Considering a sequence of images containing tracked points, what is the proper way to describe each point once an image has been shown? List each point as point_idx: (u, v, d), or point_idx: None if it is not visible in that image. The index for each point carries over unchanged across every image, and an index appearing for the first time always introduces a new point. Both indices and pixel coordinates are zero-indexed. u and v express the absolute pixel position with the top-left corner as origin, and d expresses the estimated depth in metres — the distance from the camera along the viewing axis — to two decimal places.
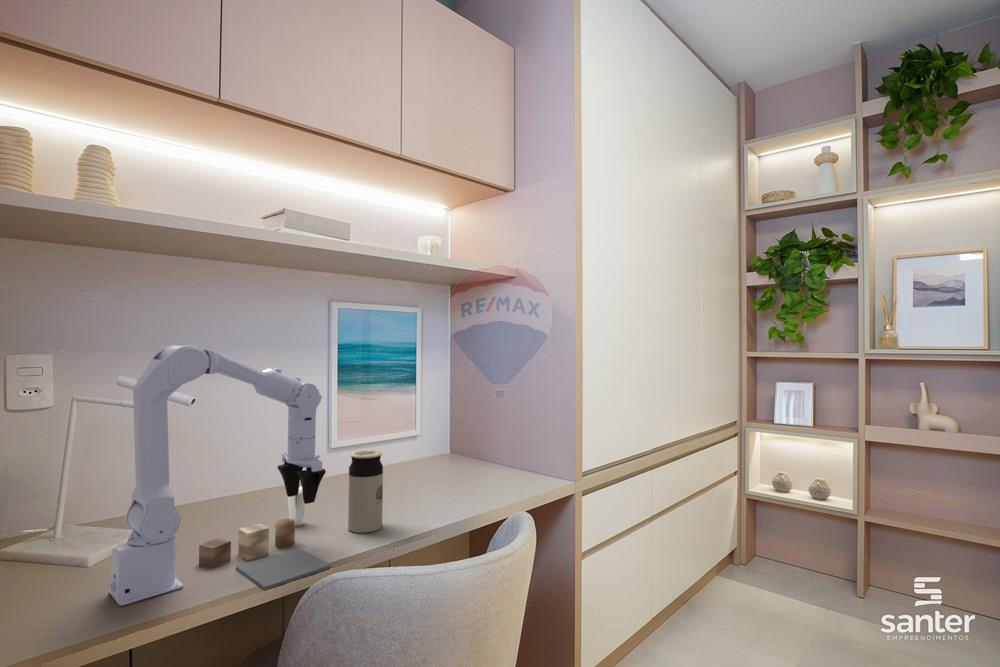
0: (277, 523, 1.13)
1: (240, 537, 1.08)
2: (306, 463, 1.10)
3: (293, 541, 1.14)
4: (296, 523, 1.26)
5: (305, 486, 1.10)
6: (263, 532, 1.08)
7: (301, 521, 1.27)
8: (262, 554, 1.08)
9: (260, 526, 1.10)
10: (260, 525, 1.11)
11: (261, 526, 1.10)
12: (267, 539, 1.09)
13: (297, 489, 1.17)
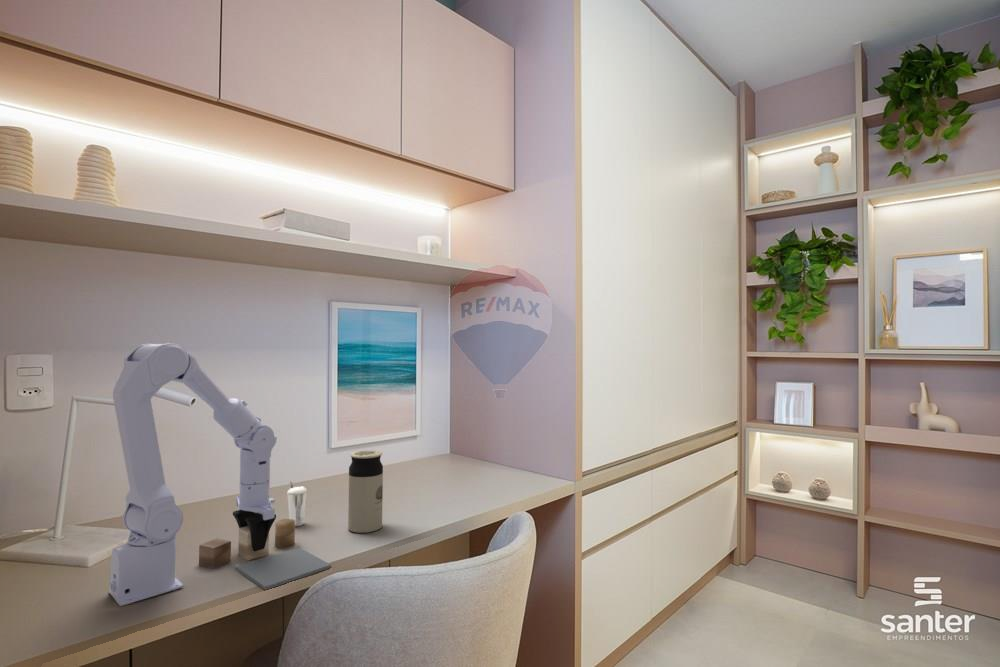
0: (277, 523, 1.13)
1: (240, 537, 1.08)
2: (257, 511, 1.05)
3: (293, 541, 1.14)
4: (296, 523, 1.26)
5: (253, 533, 1.05)
6: None
7: (301, 521, 1.27)
8: (262, 554, 1.08)
9: None
10: None
11: None
12: (267, 539, 1.09)
13: None
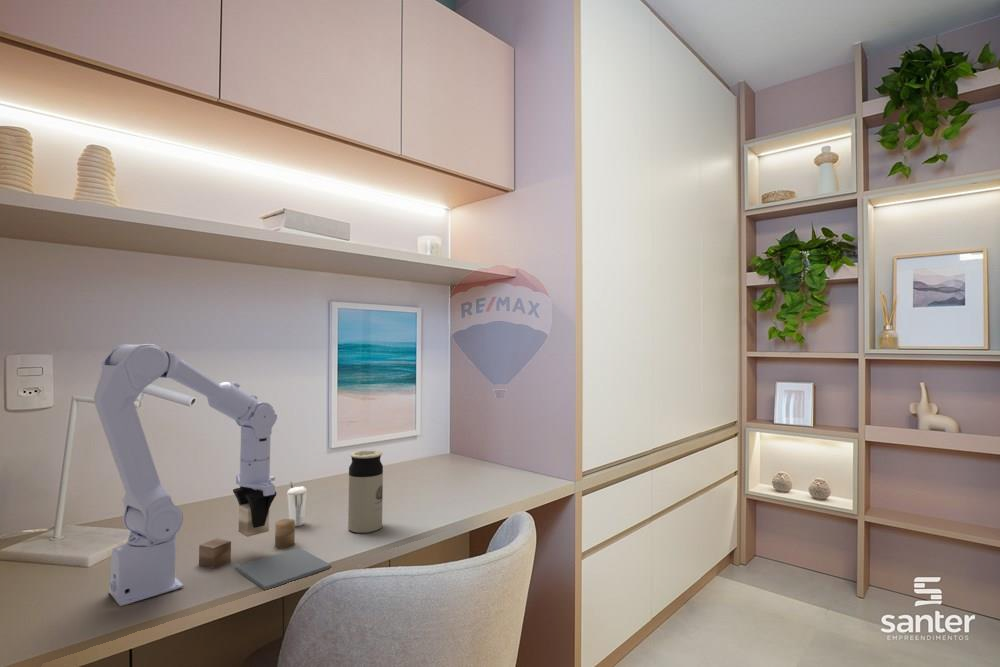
0: (277, 523, 1.13)
1: (240, 514, 1.08)
2: (258, 487, 1.05)
3: (293, 541, 1.14)
4: (296, 523, 1.26)
5: (254, 510, 1.05)
6: None
7: (301, 521, 1.27)
8: (262, 531, 1.08)
9: None
10: None
11: None
12: (267, 516, 1.09)
13: None
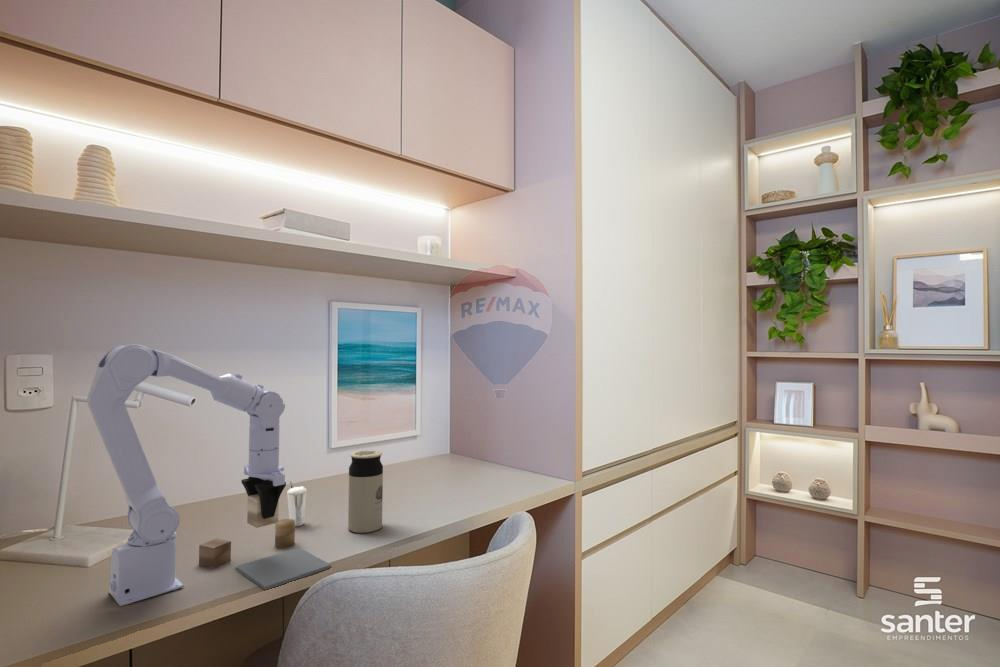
0: (277, 523, 1.13)
1: (249, 504, 1.06)
2: (267, 477, 1.03)
3: (293, 541, 1.14)
4: (296, 523, 1.26)
5: (263, 500, 1.04)
6: None
7: (301, 521, 1.27)
8: (272, 522, 1.06)
9: None
10: None
11: None
12: (277, 507, 1.07)
13: None
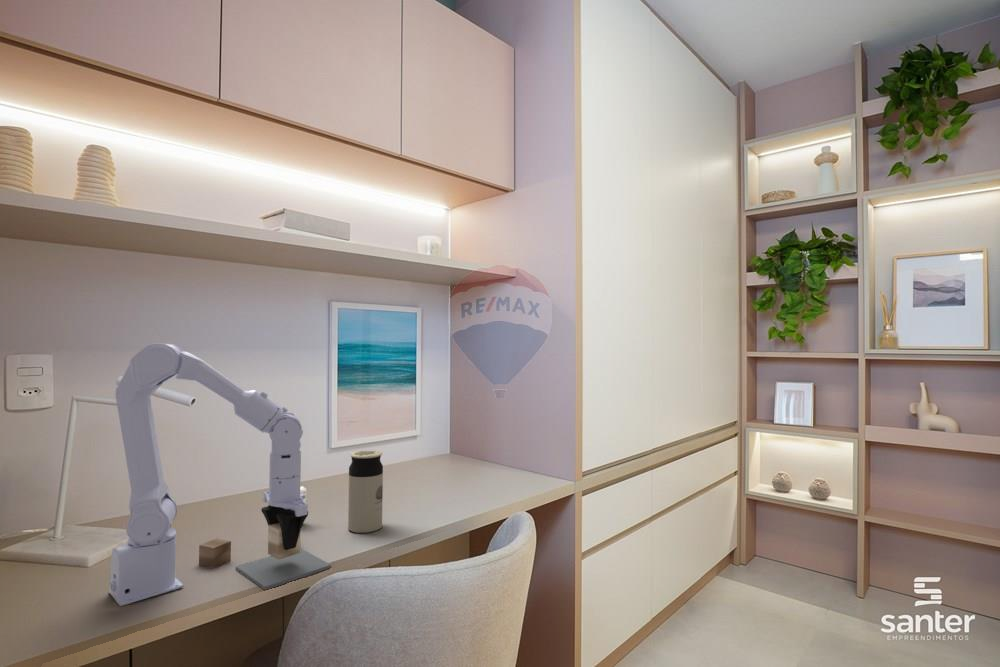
0: None
1: (270, 534, 1.01)
2: (289, 507, 0.98)
3: None
4: None
5: (285, 531, 0.99)
6: None
7: None
8: (294, 553, 1.01)
9: None
10: None
11: None
12: (299, 537, 1.02)
13: None
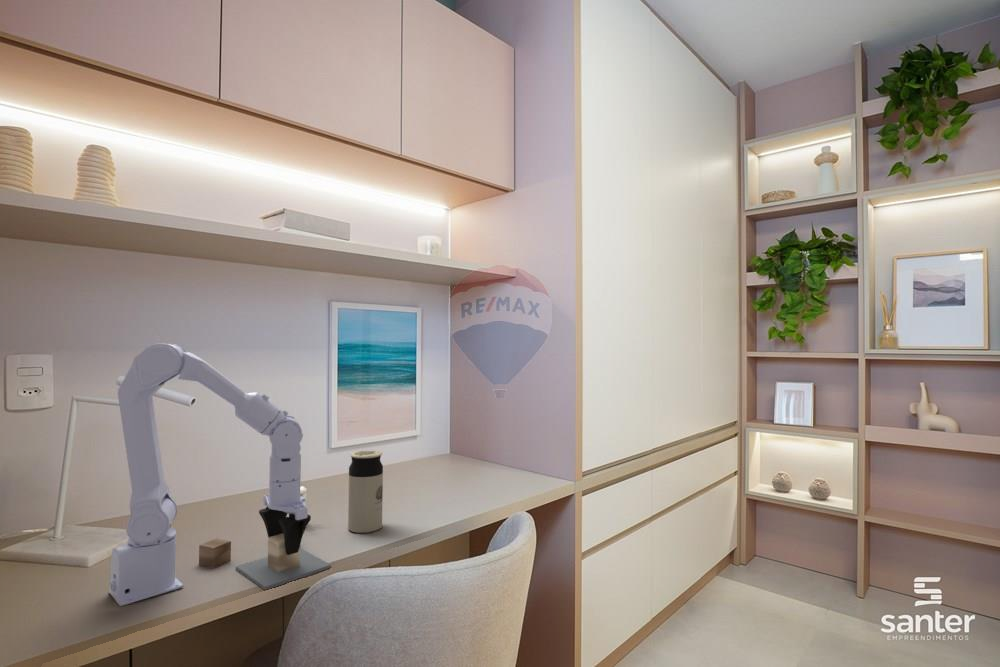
0: None
1: (270, 547, 1.01)
2: (289, 510, 0.98)
3: None
4: None
5: (287, 535, 0.98)
6: None
7: None
8: (293, 565, 1.01)
9: None
10: None
11: None
12: None
13: None
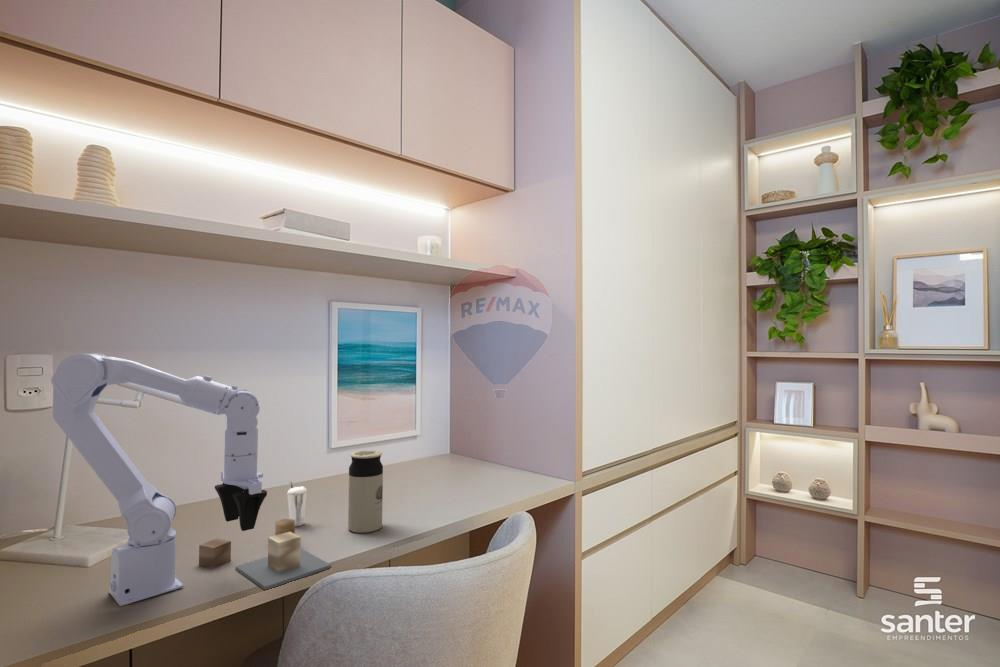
0: (277, 523, 1.13)
1: (270, 547, 1.01)
2: (243, 484, 0.95)
3: None
4: (296, 523, 1.26)
5: (242, 511, 0.95)
6: (294, 541, 1.01)
7: (301, 521, 1.27)
8: (293, 565, 1.01)
9: (291, 534, 1.03)
10: (290, 533, 1.04)
11: (292, 535, 1.03)
12: (298, 549, 1.02)
13: (238, 513, 1.03)
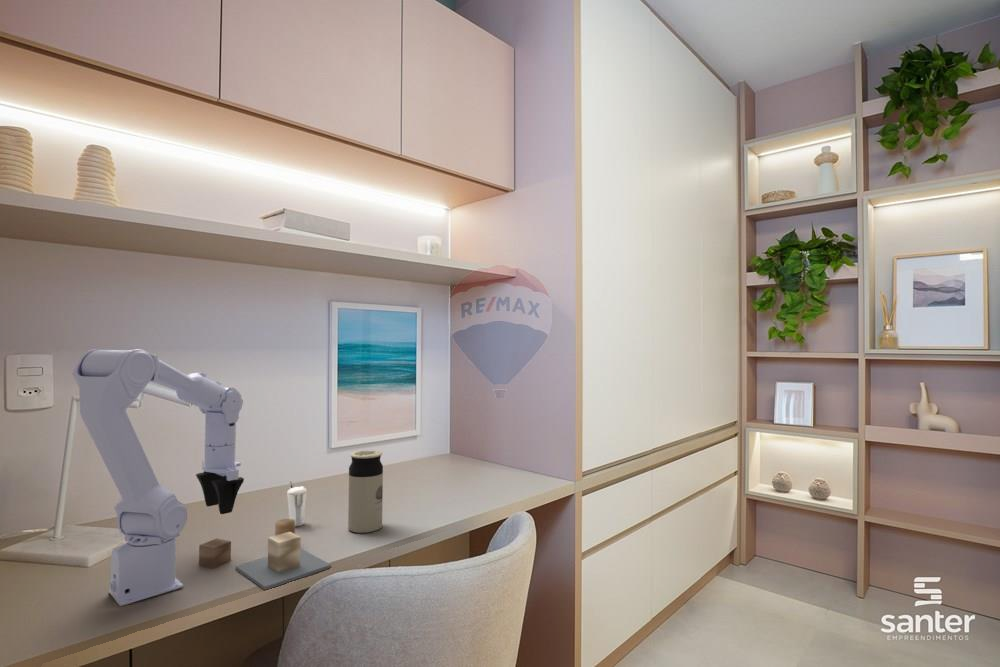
0: (277, 523, 1.13)
1: (270, 547, 1.01)
2: (221, 472, 1.05)
3: None
4: (296, 523, 1.26)
5: (220, 496, 1.05)
6: (294, 541, 1.01)
7: (301, 521, 1.27)
8: (293, 565, 1.01)
9: (291, 534, 1.03)
10: (290, 533, 1.04)
11: (292, 535, 1.03)
12: (298, 549, 1.02)
13: (217, 499, 1.12)
